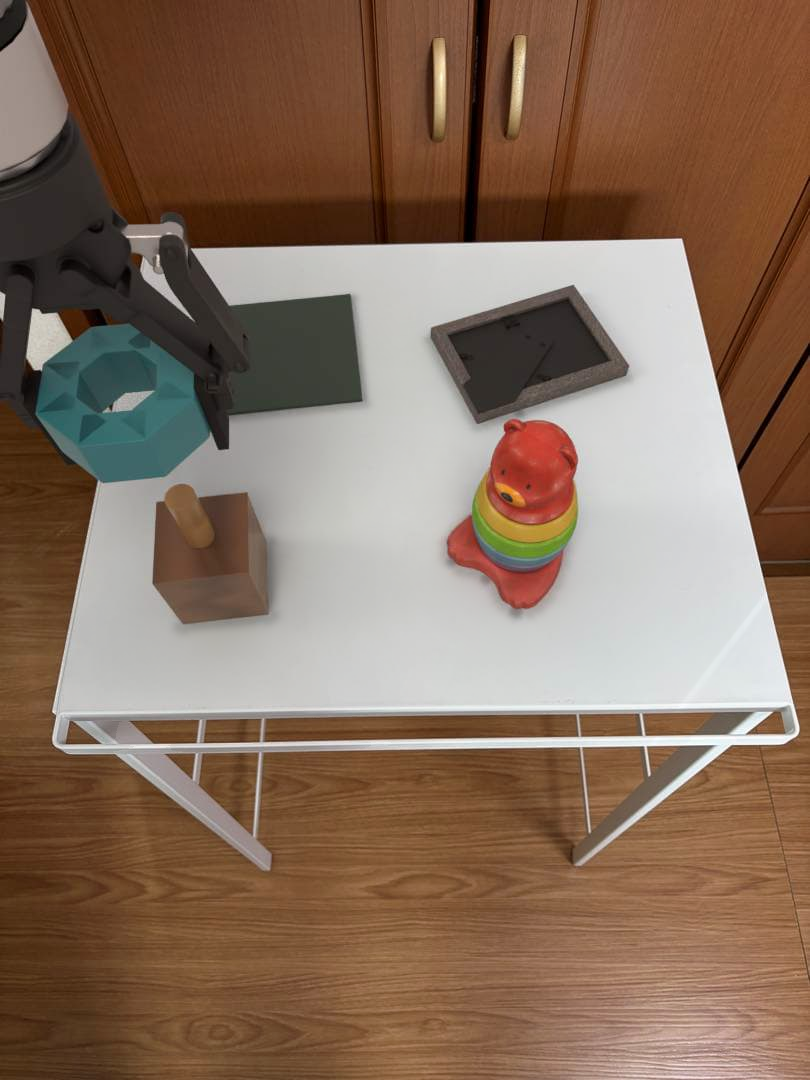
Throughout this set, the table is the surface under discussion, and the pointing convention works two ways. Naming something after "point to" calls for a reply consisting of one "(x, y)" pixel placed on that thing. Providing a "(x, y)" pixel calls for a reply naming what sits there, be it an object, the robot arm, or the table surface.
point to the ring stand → (209, 556)
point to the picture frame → (527, 353)
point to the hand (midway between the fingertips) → (149, 441)
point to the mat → (297, 355)
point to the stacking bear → (522, 512)
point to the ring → (125, 436)
